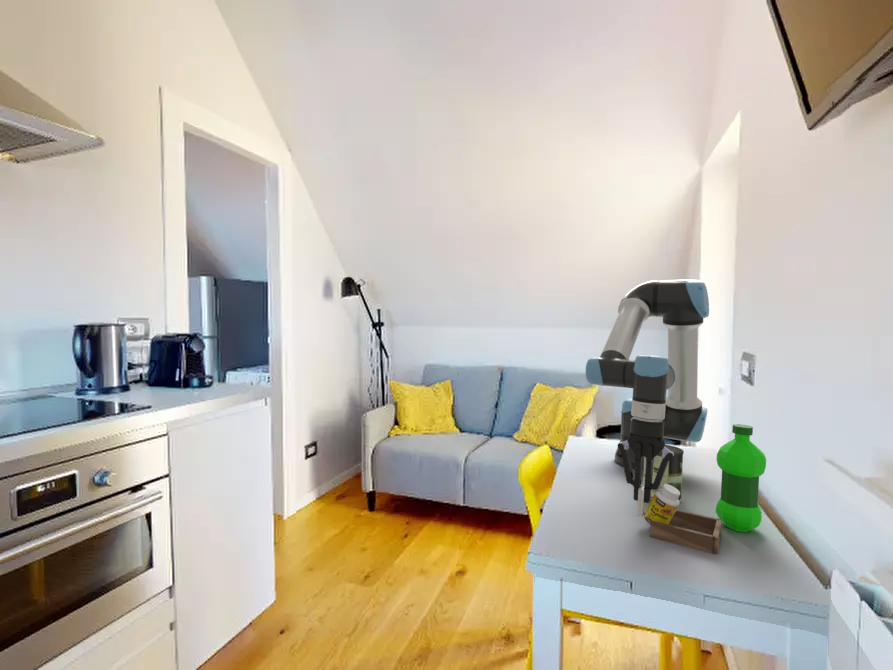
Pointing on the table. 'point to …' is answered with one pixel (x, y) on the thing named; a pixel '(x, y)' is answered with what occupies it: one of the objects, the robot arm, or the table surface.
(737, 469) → the plastic bottle
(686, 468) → the table surface
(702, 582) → the table surface
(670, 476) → the coffee can
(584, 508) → the table surface
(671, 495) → the supplement bottle
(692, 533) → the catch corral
